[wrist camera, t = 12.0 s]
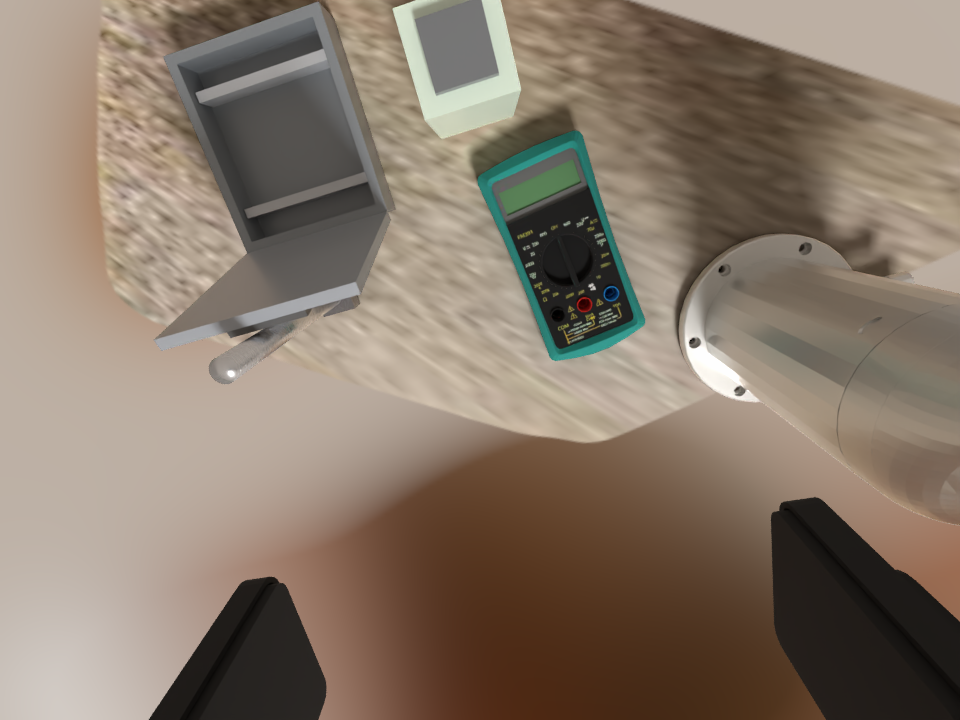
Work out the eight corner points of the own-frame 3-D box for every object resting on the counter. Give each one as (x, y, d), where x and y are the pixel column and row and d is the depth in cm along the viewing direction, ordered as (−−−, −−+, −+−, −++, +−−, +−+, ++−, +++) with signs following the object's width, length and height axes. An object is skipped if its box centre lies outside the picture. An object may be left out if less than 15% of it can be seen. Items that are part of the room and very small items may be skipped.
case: (334, 18, 31) (318, 1, 28) (395, 209, 35) (387, 210, 32) (191, 68, 32) (163, 56, 29) (266, 248, 36) (247, 253, 33)
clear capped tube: (349, 272, 36) (237, 337, 20) (360, 303, 37) (261, 389, 21) (319, 281, 36) (184, 352, 20) (330, 311, 37) (209, 402, 21)
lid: (355, 282, 22) (365, 304, 22) (387, 210, 32) (393, 227, 32) (153, 340, 23) (168, 360, 23) (247, 253, 33) (255, 268, 34)
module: (493, 32, 31) (494, -33, 22) (513, 116, 33) (521, 87, 24) (418, 58, 32) (390, 3, 23) (441, 139, 33) (423, 118, 24)
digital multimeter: (551, 359, 39) (555, 372, 36) (474, 175, 34) (473, 174, 32) (640, 323, 38) (652, 333, 35) (573, 128, 33) (580, 123, 30)
